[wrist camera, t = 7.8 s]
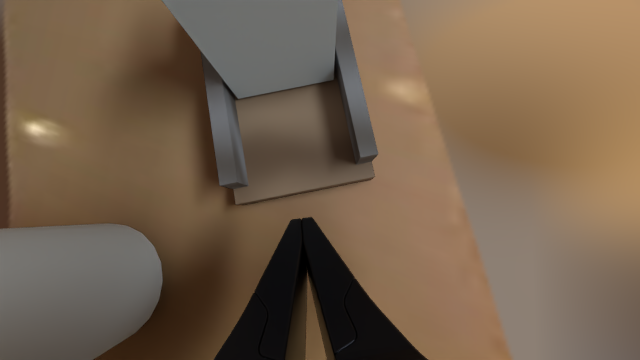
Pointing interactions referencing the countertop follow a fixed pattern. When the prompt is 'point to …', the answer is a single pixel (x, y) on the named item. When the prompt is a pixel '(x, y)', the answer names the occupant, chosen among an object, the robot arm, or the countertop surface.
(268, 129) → the grey rail holder
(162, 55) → the countertop surface
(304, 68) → the grey rectangular box
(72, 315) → the can
